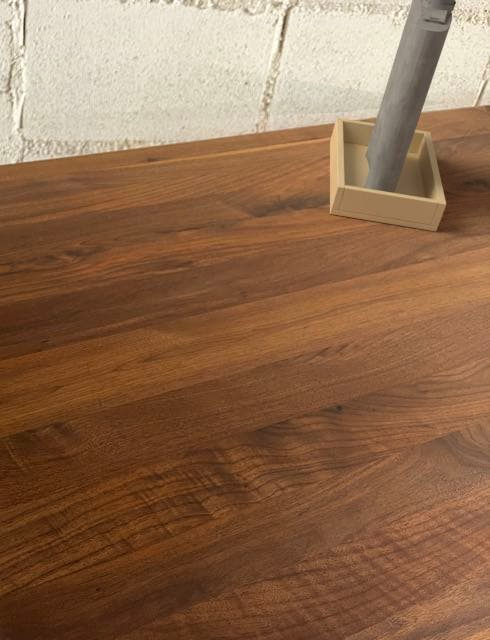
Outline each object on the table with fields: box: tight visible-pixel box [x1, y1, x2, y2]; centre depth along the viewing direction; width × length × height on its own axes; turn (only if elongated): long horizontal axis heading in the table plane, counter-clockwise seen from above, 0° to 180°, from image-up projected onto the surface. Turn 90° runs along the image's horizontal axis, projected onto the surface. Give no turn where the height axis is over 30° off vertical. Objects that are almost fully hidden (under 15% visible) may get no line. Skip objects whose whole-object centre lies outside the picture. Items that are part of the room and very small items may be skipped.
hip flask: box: [364, 0, 457, 193], centre depth 97 cm, size 16×4×20 cm, turn 165°
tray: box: [329, 117, 447, 232], centre depth 103 cm, size 12×22×3 cm, turn 169°
